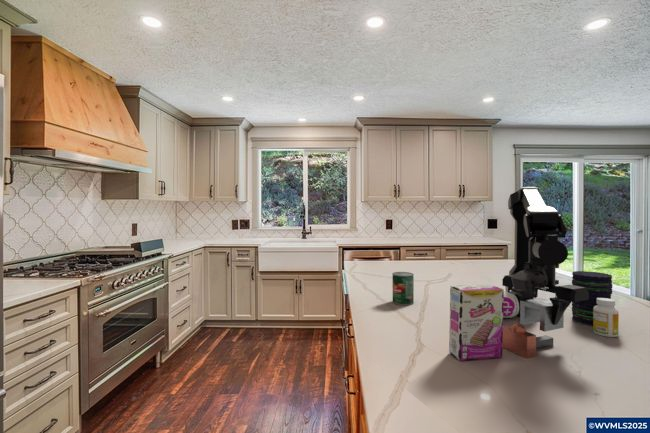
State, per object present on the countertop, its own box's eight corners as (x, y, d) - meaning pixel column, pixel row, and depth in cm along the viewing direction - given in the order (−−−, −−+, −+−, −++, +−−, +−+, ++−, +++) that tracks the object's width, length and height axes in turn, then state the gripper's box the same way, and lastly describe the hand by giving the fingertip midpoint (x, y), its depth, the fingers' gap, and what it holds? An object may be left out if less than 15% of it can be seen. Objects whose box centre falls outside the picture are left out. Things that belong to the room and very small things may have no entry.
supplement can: (472, 319, 103) (521, 319, 103) (470, 292, 105) (518, 292, 104) (462, 316, 111) (507, 316, 111) (461, 290, 113) (505, 291, 112)
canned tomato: (416, 301, 127) (416, 273, 127) (409, 306, 120) (409, 276, 120) (396, 298, 131) (396, 271, 131) (389, 303, 124) (389, 274, 124)
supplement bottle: (612, 331, 94) (612, 297, 94) (622, 338, 89) (622, 302, 89) (589, 329, 96) (590, 296, 96) (598, 336, 91) (598, 300, 91)
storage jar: (606, 319, 105) (606, 272, 105) (617, 329, 97) (618, 278, 96) (568, 315, 110) (568, 270, 110) (575, 324, 101) (576, 275, 101)
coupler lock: (539, 319, 89) (539, 297, 89) (564, 327, 83) (564, 303, 83) (520, 323, 86) (520, 300, 86) (544, 331, 80) (544, 306, 80)
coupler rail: (536, 339, 89) (536, 314, 88) (563, 349, 82) (563, 322, 82) (500, 347, 84) (500, 320, 84) (526, 358, 77) (526, 329, 77)
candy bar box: (460, 362, 75) (460, 290, 75) (448, 353, 80) (448, 285, 80) (504, 358, 77) (504, 288, 77) (490, 349, 82) (490, 283, 82)
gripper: (487, 256, 90) (487, 313, 90) (558, 267, 72) (558, 338, 73) (516, 254, 94) (516, 309, 94) (590, 263, 77) (589, 331, 77)
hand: (541, 320), depth 84 cm, fingers closed on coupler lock, 6 cm apart
